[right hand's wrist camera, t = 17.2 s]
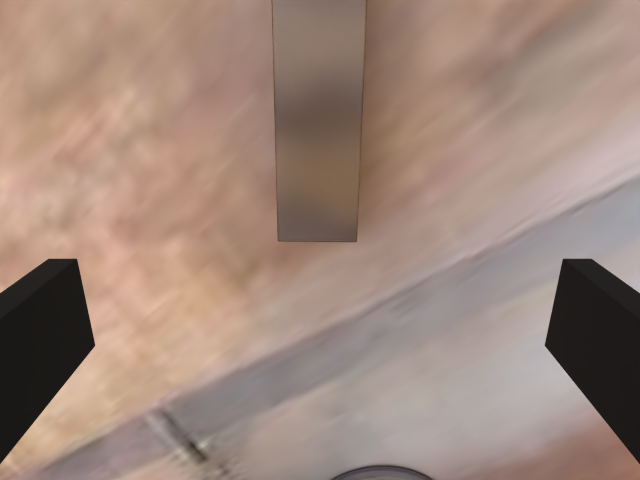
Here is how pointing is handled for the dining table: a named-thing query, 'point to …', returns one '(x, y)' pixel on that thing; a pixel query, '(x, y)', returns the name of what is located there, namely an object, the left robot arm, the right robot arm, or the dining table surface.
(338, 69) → the bar
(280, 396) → the dining table surface
